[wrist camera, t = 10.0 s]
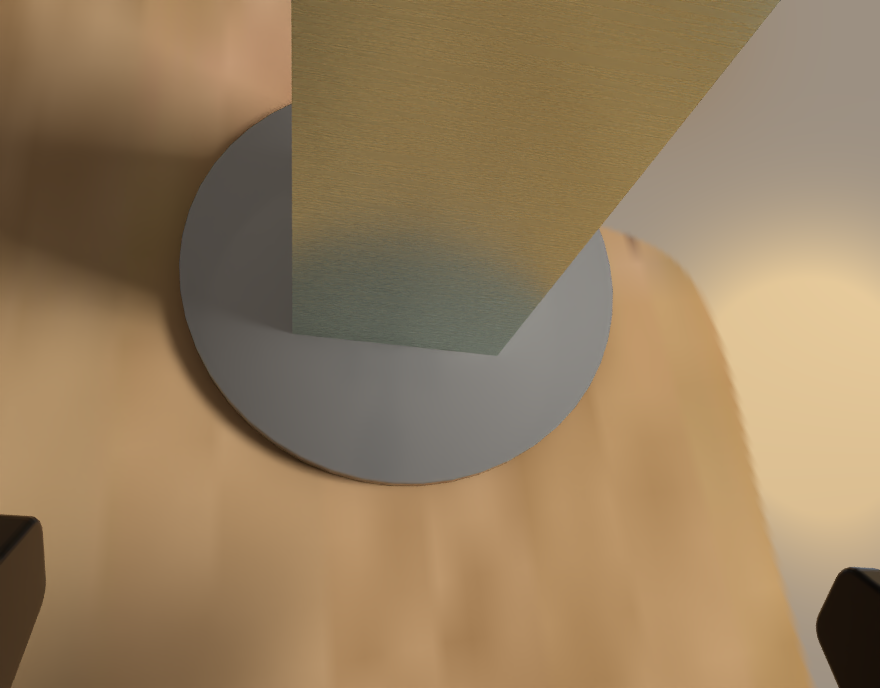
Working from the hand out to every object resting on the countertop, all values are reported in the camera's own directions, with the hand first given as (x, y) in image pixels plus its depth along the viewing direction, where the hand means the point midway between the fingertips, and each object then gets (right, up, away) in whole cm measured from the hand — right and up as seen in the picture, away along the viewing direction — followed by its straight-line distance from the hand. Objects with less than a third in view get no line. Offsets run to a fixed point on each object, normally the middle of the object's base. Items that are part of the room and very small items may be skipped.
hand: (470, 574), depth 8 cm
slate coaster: (-1, +4, +11) cm, 12 cm away
